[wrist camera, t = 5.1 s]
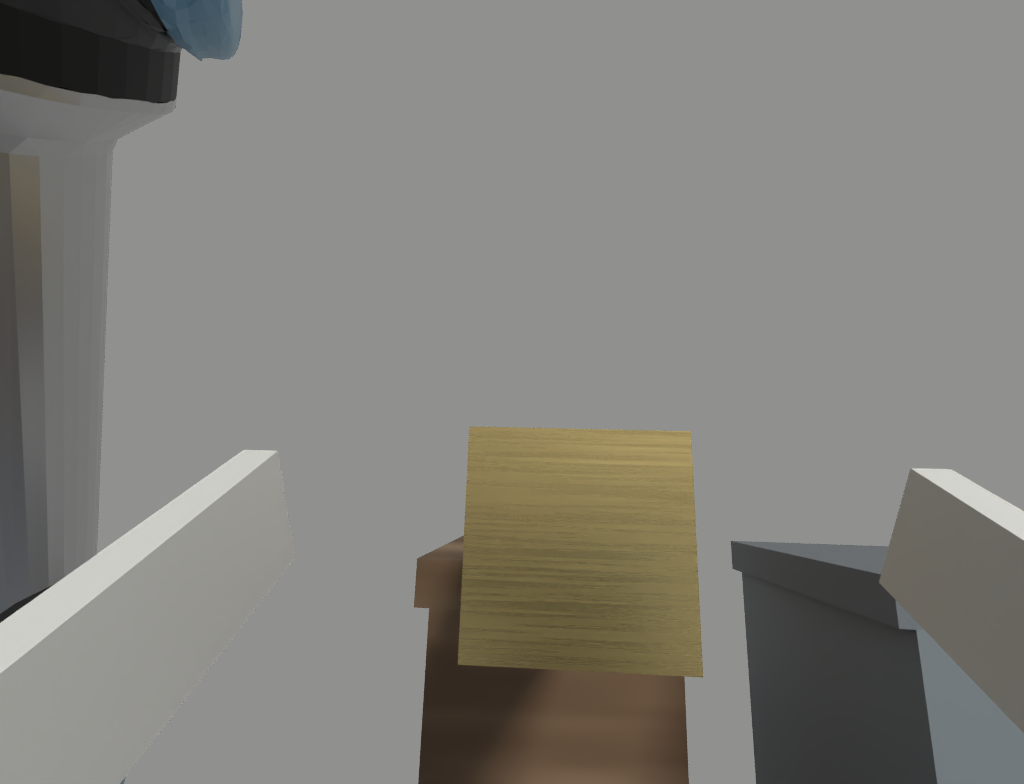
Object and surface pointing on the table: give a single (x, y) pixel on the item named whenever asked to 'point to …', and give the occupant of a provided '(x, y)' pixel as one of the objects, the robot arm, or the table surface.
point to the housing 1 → (537, 710)
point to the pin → (580, 552)
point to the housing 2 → (858, 679)
